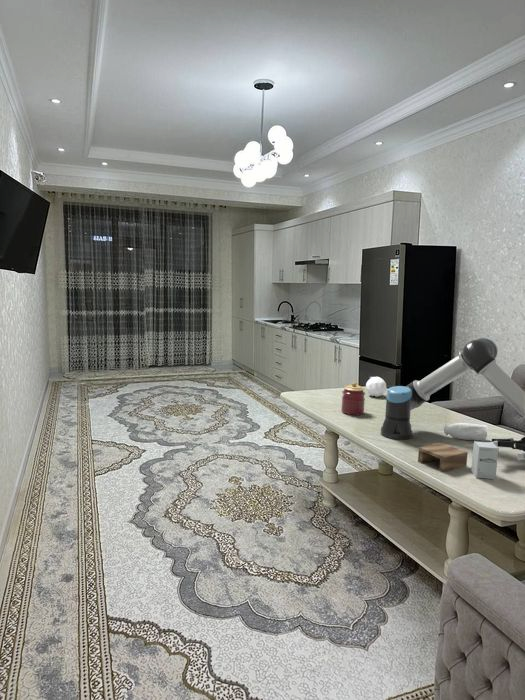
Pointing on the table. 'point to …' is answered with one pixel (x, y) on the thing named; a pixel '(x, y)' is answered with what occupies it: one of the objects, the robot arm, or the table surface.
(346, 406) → the canister
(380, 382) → the geodesic sphere
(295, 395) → the table surface
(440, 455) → the shelf
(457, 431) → the white bottle
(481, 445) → the supplement box
